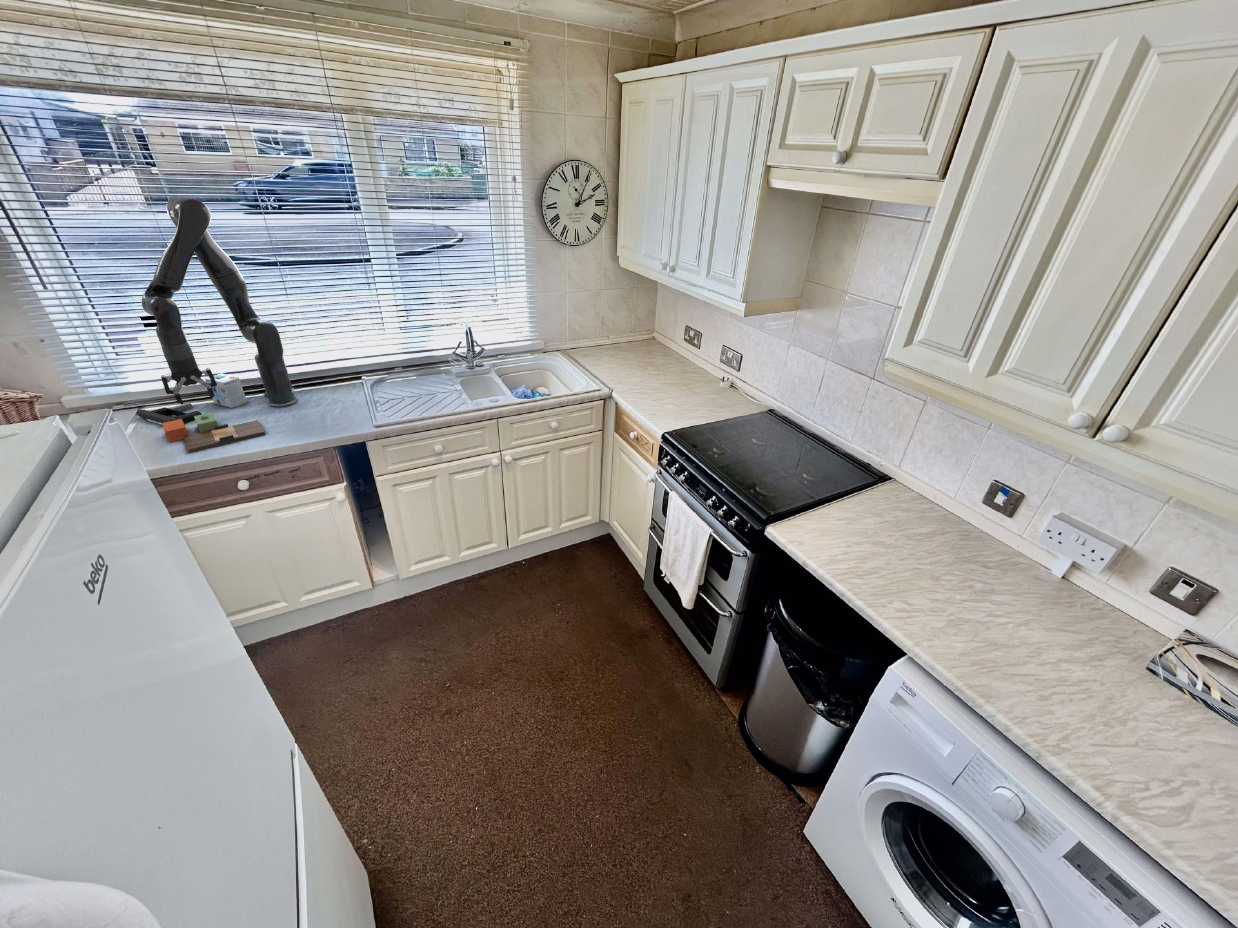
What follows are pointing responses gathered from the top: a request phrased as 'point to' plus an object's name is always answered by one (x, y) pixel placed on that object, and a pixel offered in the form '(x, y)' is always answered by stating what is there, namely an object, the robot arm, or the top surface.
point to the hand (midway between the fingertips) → (197, 400)
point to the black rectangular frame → (168, 414)
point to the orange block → (175, 430)
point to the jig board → (223, 435)
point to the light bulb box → (227, 390)
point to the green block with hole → (206, 422)
